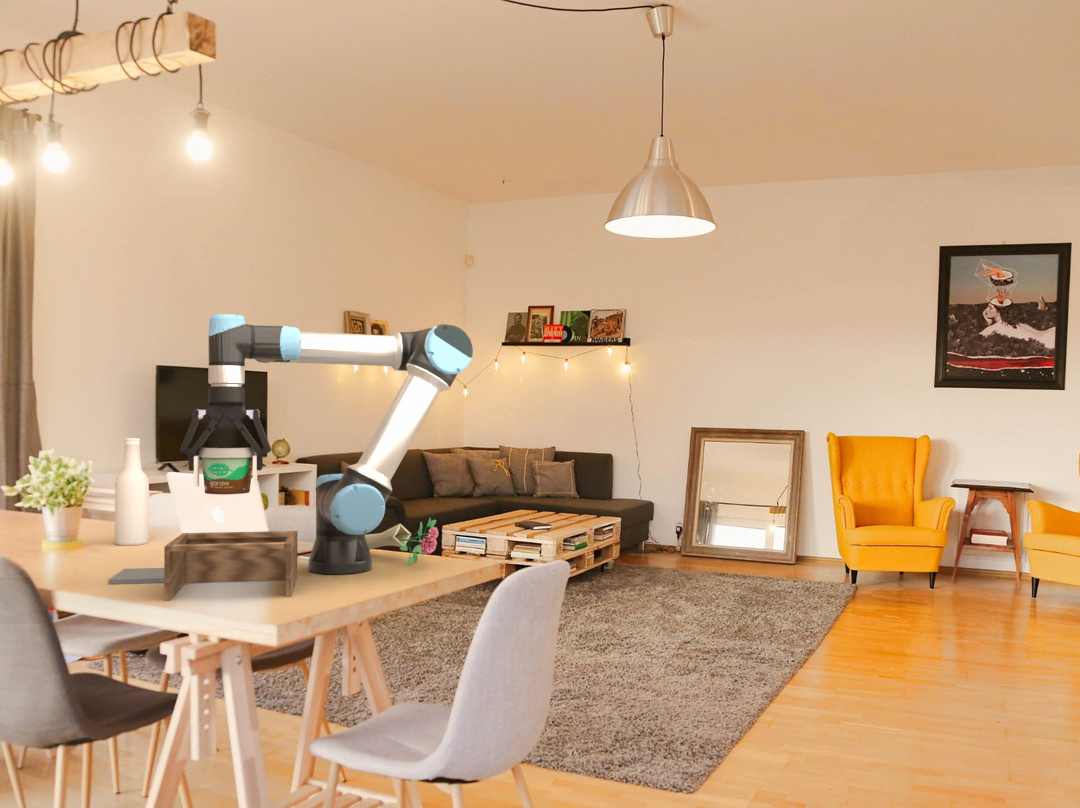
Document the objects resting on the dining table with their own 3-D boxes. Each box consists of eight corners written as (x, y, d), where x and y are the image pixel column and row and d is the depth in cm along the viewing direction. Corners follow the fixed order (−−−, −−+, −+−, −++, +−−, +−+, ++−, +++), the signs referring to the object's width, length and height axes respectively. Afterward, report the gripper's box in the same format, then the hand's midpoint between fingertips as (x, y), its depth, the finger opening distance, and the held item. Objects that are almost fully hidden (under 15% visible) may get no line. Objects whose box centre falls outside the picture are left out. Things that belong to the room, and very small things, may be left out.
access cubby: (297, 578, 215) (297, 530, 215) (291, 596, 195) (291, 543, 195) (182, 582, 210) (182, 533, 210) (164, 600, 191) (164, 546, 190)
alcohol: (123, 541, 271) (123, 437, 271) (153, 541, 271) (154, 437, 271) (109, 545, 262) (109, 438, 262) (140, 546, 262) (141, 438, 262)
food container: (192, 495, 200) (193, 448, 200) (198, 492, 206) (198, 446, 206) (252, 494, 202) (253, 448, 202) (256, 492, 208) (256, 447, 208)
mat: (186, 571, 224) (186, 567, 224) (175, 582, 210) (175, 577, 210) (124, 573, 221) (124, 568, 221) (108, 584, 207) (108, 579, 207)
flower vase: (371, 580, 254) (459, 566, 231) (334, 572, 245) (421, 557, 223) (376, 537, 258) (463, 519, 235) (340, 528, 250) (426, 508, 227)
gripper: (284, 386, 210) (283, 483, 210) (171, 385, 205) (170, 484, 205) (282, 386, 203) (281, 486, 203) (165, 384, 198) (164, 488, 198)
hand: (225, 485), depth 204 cm, fingers closed on food container, 11 cm apart
